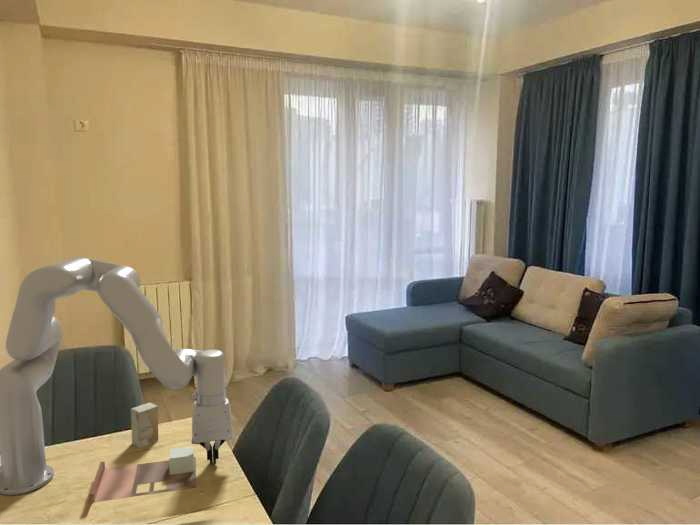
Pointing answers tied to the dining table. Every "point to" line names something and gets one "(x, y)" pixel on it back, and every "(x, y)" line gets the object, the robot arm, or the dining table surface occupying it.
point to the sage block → (181, 460)
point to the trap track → (137, 480)
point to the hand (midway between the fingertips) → (212, 461)
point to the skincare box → (144, 424)
